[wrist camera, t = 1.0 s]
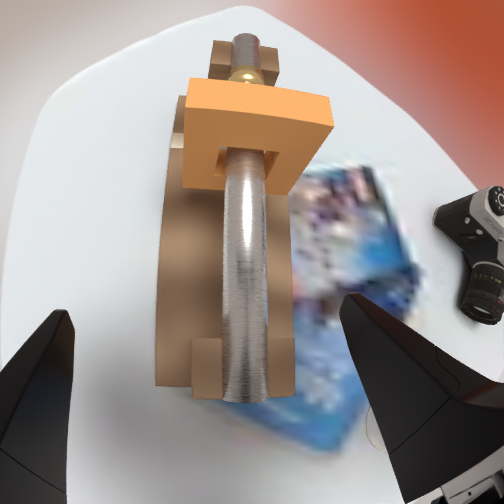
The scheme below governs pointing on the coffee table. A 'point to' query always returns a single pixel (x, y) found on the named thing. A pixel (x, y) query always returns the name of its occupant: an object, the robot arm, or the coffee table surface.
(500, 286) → the camera
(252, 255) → the pipe
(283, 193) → the collar
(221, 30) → the coffee table surface
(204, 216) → the stand
